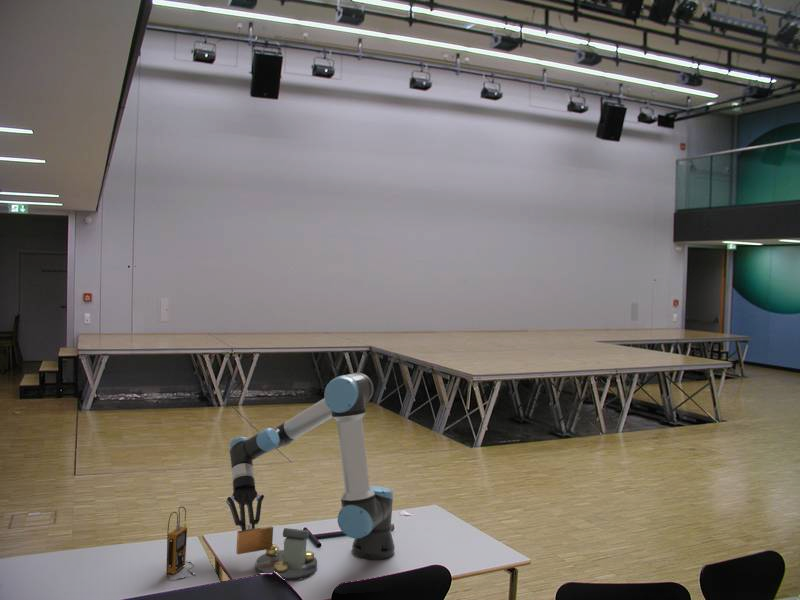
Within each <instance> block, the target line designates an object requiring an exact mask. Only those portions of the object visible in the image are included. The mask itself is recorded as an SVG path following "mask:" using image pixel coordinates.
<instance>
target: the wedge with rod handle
mask: <svg viewBox="0 0 800 600" xmlns="http://www.w3.org/2000/svg"><path fill="white" fill-rule="evenodd" d="M309 535H310V531H309V530H308V529H307V530H306V529H297V528H289V527H288V528H287V527H286V528H285V527H284V528H283V531H282V537H283V538H285V539H284V541H283V550H284V556H283V562H287V563H288V568H290V569H300V570H301V569H302V567H303V565H304V564H305V560H306V551H307V542H308V539H309Z"/></svg>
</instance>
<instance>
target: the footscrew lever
mask: <svg viewBox="0 0 800 600" xmlns="http://www.w3.org/2000/svg"><path fill="white" fill-rule="evenodd" d="M273 537H274V526H272V525H270V526H262V527H258V528H256V527H255V529H249V530H237V534H236V552H235V553H236V554H237V555H243V554H248V553H255V552H260V551H265V554H266V556H268V557H276V556H278V555H279V550H280V548H279V546H277V544H274V543H273V541H274V540H273Z"/></svg>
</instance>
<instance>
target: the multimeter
mask: <svg viewBox="0 0 800 600" xmlns="http://www.w3.org/2000/svg"><path fill="white" fill-rule="evenodd" d="M181 508H182V509H183V510H184V513H185V514H184V520H186V517H187V509H186V507H184V506H180V507H178V510H181ZM174 513H175V514H176V516H177V518H176V526H175V529H174V530H172V531H171V532H167V535H166V538H167V540H166V543H167V544H166V576H167V578H169V575H168V574H169V573H171V574H170V575H176V574H177V573H178V572H179V571H180V570H181V568H182V567H183V566H184V565H185V566H186V561H185V560H186V557H187V556H186V555H187V541H188V540H187V538H188V537H187V535H188V528H187V526H186V525H184V526H181V525H180V524H181V523H180V522H181V521H180V518H181V517H180V516H181V514H180V511H178V513H177V512H176V511H172V512H171V513H170V514H169V519H168V524H167V531H169V529H170V528H169V527H170V522H171V521H170V519H171V517H172V515H173V514H174ZM183 568H184V567H183ZM183 568H182V569H183ZM179 569H180V570H179ZM178 570H179V571H178ZM177 571H178V572H177ZM175 573H176V574H175Z"/></svg>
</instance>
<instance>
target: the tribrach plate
mask: <svg viewBox="0 0 800 600" xmlns="http://www.w3.org/2000/svg"><path fill="white" fill-rule="evenodd" d="M283 556H284V549H279V555H278V556H276V557H268V556H266V553H263V554H262V555H260V556H259V557H258V558H257V559H256V561H255V571H256V570H257V571H256V572H257V573H258V572H259V573H273V572H274V571H275V572H277V573H278V574H279V575H280V576H281V577H282V578H283V579H285V580H286V581H289V582H290V581H297V580H298V581H299V580H304V579H307V578H309V577H311V576H313V575H314V574H315V573H316V572H317V569H318V560H317V558H316V557H315V552H313V551H310V550H306V560H305V564H304V565H303V567H302V569H301V570H300V569H290V568H288V563H287V562H283ZM259 573H258V574H259ZM286 581H285V582H286Z"/></svg>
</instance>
